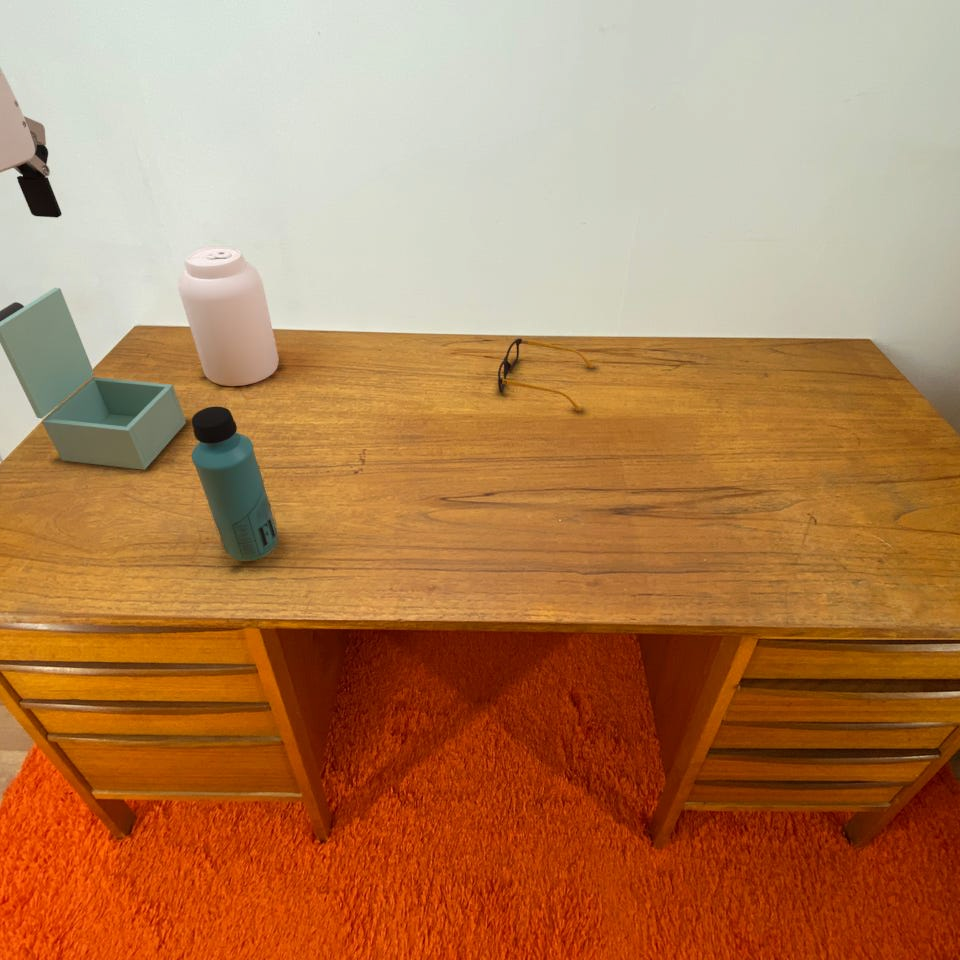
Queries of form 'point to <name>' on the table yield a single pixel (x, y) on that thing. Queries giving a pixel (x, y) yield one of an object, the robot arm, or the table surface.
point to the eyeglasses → (503, 381)
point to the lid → (44, 350)
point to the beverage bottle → (233, 485)
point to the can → (228, 316)
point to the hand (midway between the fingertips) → (17, 230)
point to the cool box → (115, 423)
